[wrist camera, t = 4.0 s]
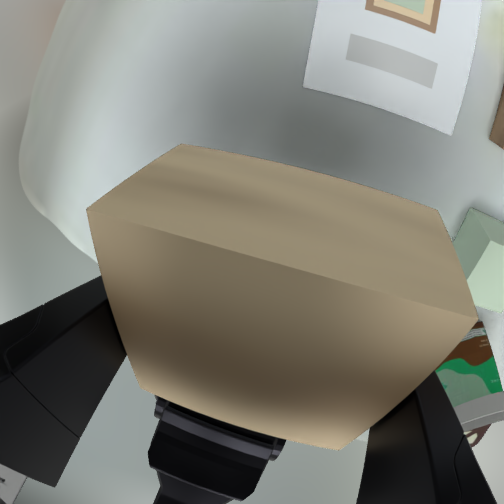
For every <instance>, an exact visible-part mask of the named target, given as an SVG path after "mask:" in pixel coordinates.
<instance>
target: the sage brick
mask: <svg viewBox="0 0 504 504" xmlns="http://www.w3.org/2000/svg"><path fill="white" fill-rule="evenodd" d="M452 244H453V246H454V249H455V251H456V254H457V256H458V259H459V261H460V264H461V267H462V269H463V272H464V275H465V277H466V280H467V283H468V286H469V289H470V292H471V295H472V298H473V301H474V305H475V306H478V307H482V308H485V309H488V310H491V311H495V312H498V313H502V312H503V311H504V223H503V222H501V221H499V220H497V219H495V218H493V217H491V216H489V215H486V214H484V213H482V212H480V211H478V210H475V209H473V208H471V207H470V209H469V211H468V213H467V216H466V218H465V220H464V222H463V224H462V226H461V228H460V230H459V232H458V234H457V236H456V237H455V239H454V241H453V243H452Z"/></svg>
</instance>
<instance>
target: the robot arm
mask: <svg viewBox="0 0 504 504" xmlns="http://www.w3.org/2000/svg"><path fill="white" fill-rule="evenodd" d="M126 356H127V353H126V350H125V348H124V345H123V342H122V339H121V336H120V334H119V331H118V328H117V325H116V322H115V319H114V316H113V313H112V310H111V306H110V303H109V300H108V297H107V293H106V290H105V286H104V283H103V279H102V276H99V277H97V278H95V279H93V280H91V281H89V282H87V283H85V284H83V285H80V286H79V287H76V288H74V289H72V290H70V291H68V292H66V293H65V294H62V295H60V296H58V297H56V298H54V299H53V300H50V301H48V302H47V303H45V304H44V305H41V306H39V307H37V308H35V309H33V310H31V311H29V312H27V313H25V314H23V315H21V316H19V317H17V318H14V319H12V320H10V321H8V322H6V323H3V324H1V325H0V504H13V503H14V501H15V499H16V498H17V496H18V493H19V492H20V490H21V488H22V486H23V484H24V483H25V481H26V479H27V477H30V478H32V479H34V480H37V481H39V482H42V483H44V484H47V485H49V486H52V487H55V486H56V485H57V483H58V481H59V479H60V477H61V475H62V473H63V471H64V469H65V467H66V465H67V463H68V461H69V459H70V457H71V455H72V453H73V451H74V449H75V447H76V445H77V444H78V442H79V440H80V437H81V436H82V434H83V432H84V430H85V428H86V426H87V424H88V423H89V421H90V419H91V417H92V415H93V413H94V412H95V410H96V408H97V406H98V404H99V403H100V400H101V399H102V397H103V395H104V394H105V392H106V390H107V388H108V387H109V385H110V383H111V381H112V379H113V378H114V376H115V374H116V373H117V371H118V369H119V368H120V366H121V364H122V362H123V361H124V359H125V357H126ZM154 395H155V394H154ZM155 398H156V400H157V401H156V408H155V412H154V416H155V417H156V418H159V419H160V420H159V423H158V425H157V428H156V430H155V433H154V436H153V438H152V441H151V446H150V448H149V450H148V458H149V465H150V467H151V468H153V469H155V470H156V471H157V475H158V478H159V482H160V488H159V491H158V493H157V496H156V498H155V500H154V503H153V504H226V503H228V502H230V501H231V500H233V499H235V500H238V501H243V500H244V499H246V498H247V497H248V496H249V495H251V494H252V493H253V492H254V490H255V488H256V486H257V483H258V481H259V479H260V477H261V475H262V473H263V471H264V469H265V467H266V465H267V463H268V461H269V460H271V461H274V460H275V459H276V458H277V457H278V456H279V454H280V452H281V451H282V449H283V447H284V445H285V442H286V439H282V438H278V437H274V436H270V435H267V434H263V433H260V432H256V431H253V430H249V429H246V428H243V427H239V426H236V425H233V424H230V423H227V422H224V421H221V420H218V419H215V418H212V417H210V416H207V415H204V414H201V413H199V412H196V411H193V410H191V409H188V408H186V407H183V406H181V405H178V404H176V403H173V402H171V401H168V400H166V399H164V398H161V397H159V396H157V395H155ZM356 504H497V502H496V500H495V498H494V496H493V494H492V491H491V489H490V487H489V485H488V483H487V481H486V479H485V477H484V475H483V473H482V470H481V468H480V466H479V464H478V462H477V460H476V458H475V455H474V453H473V451H472V448H471V446H470V444H469V441H468V439H467V437H466V434H464V430H463V428H462V425H461V423H460V421H459V419H458V416H457V414H456V412H455V410H454V408H453V406H452V404H451V401H450V399H449V397H448V395H447V393H446V391H445V389H444V387H443V385H442V383H441V381H440V379H439V377H438V375H437V373H436V371H435V370H434V371H433V372H432V373H431V374H430V375H429V376H428V377H427V378H426V379H425V380H424V381H423V382H422V383H421V384H420V385H419V386H417V387H416V388H415V389H414V390H413V391H412V392H411V393H410V394H409V395H408V396H407V397H406V398H405V399H403V400H402V401H401V402H400V403H399V404H398V405H397V406H396V407H394V408H393V409H392V410H391V411H390V412H389V413H387V414H386V415H385V416H384V417H383V418H381V419H380V420H379V421H378V422H376V423H375V424H374V425H373V426H371V427H370V430H369V437H368V444H367V451H366V457H365V463H364V469H363V473H362V479H361V484H360V489H359V494H358V498H357V503H356Z"/></svg>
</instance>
